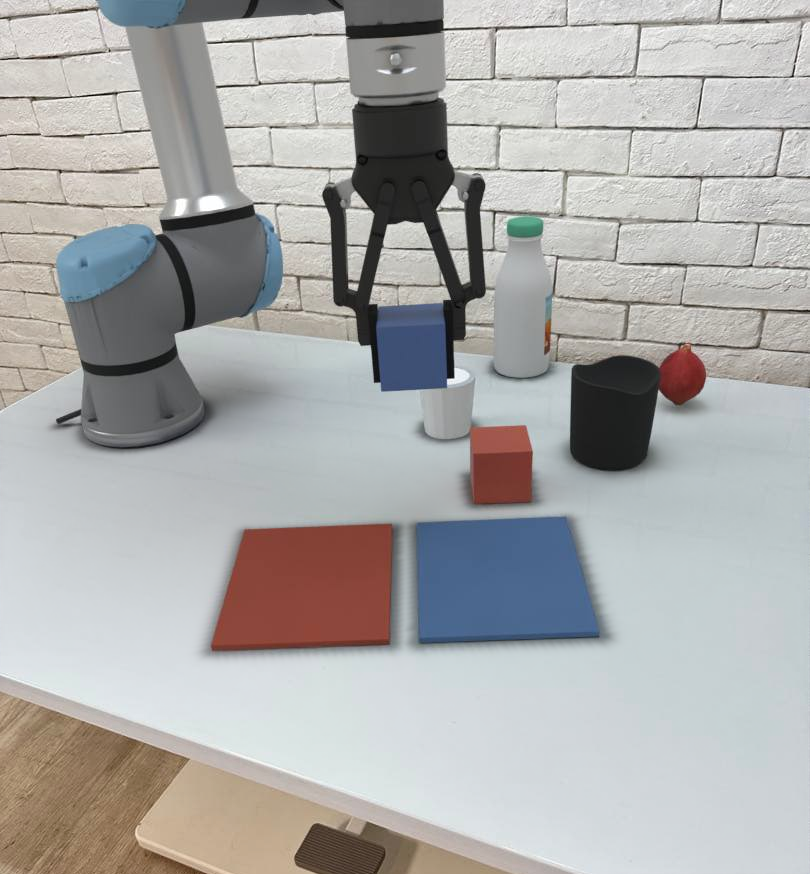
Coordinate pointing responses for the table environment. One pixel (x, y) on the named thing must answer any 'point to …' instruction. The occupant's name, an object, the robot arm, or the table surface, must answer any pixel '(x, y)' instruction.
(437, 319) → the blue block
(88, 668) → the table surface
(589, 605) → the blue mat
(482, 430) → the red block
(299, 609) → the red mat
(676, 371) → the pomegranate
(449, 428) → the white cup
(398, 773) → the table surface
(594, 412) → the pen holder
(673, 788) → the table surface
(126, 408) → the robot arm
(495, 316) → the milk bottle
